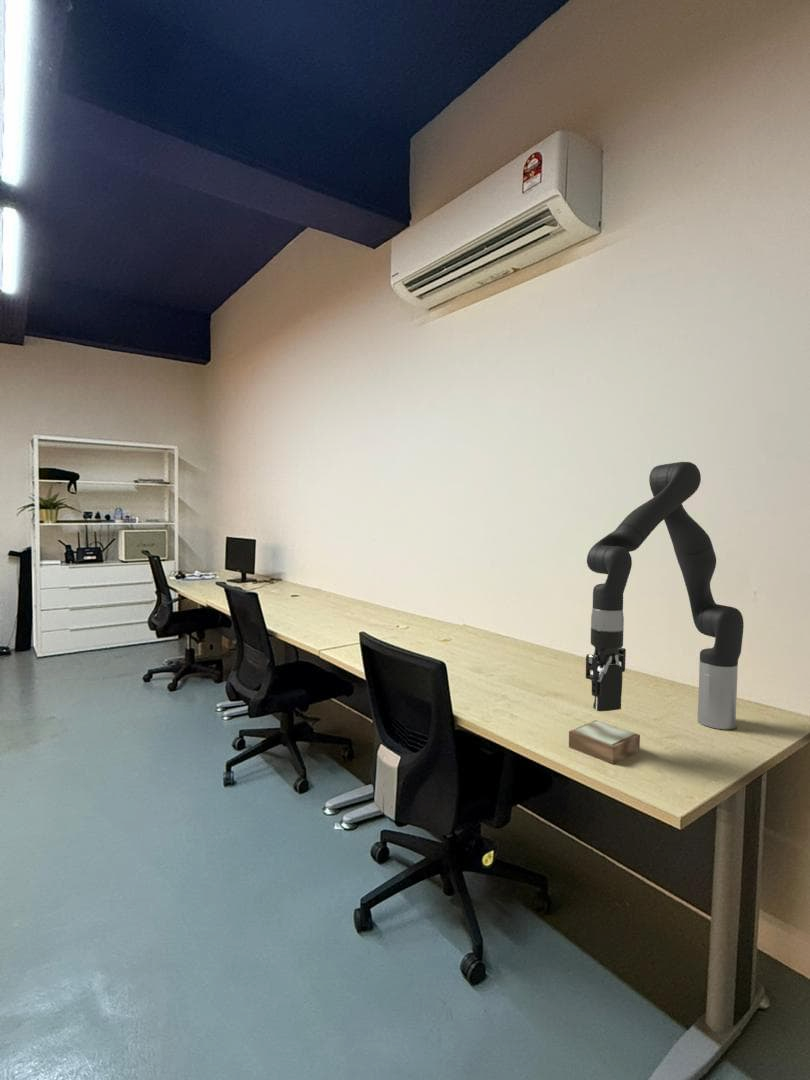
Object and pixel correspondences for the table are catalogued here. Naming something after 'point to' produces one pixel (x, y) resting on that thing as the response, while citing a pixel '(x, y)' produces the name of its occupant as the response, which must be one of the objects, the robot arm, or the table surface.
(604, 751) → the base
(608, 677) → the battery
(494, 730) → the table surface
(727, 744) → the table surface
